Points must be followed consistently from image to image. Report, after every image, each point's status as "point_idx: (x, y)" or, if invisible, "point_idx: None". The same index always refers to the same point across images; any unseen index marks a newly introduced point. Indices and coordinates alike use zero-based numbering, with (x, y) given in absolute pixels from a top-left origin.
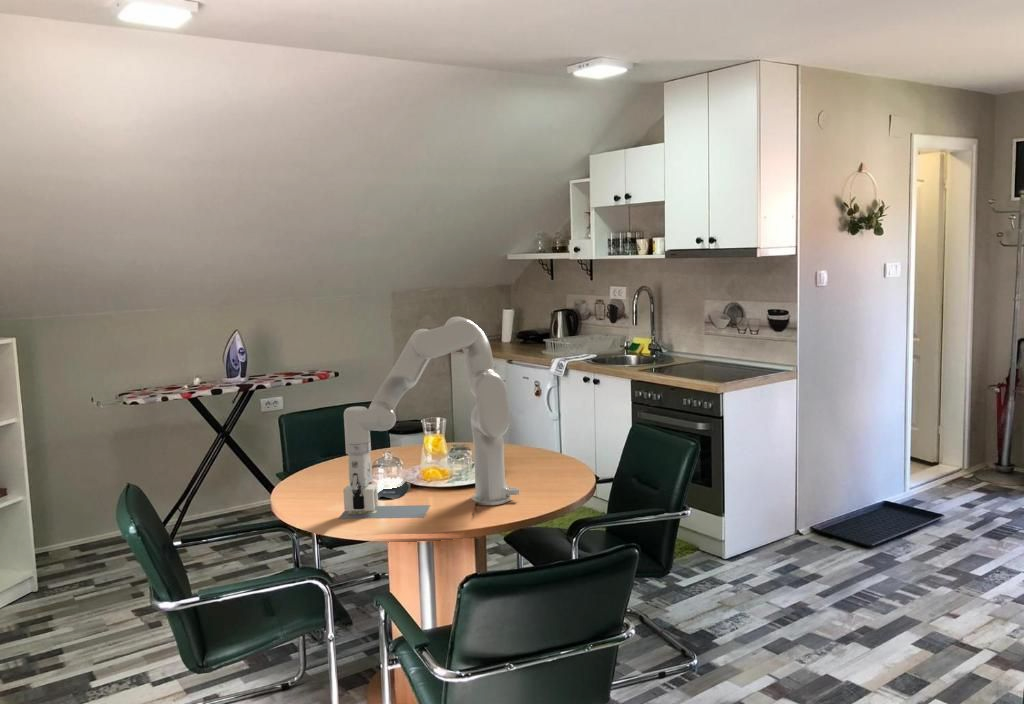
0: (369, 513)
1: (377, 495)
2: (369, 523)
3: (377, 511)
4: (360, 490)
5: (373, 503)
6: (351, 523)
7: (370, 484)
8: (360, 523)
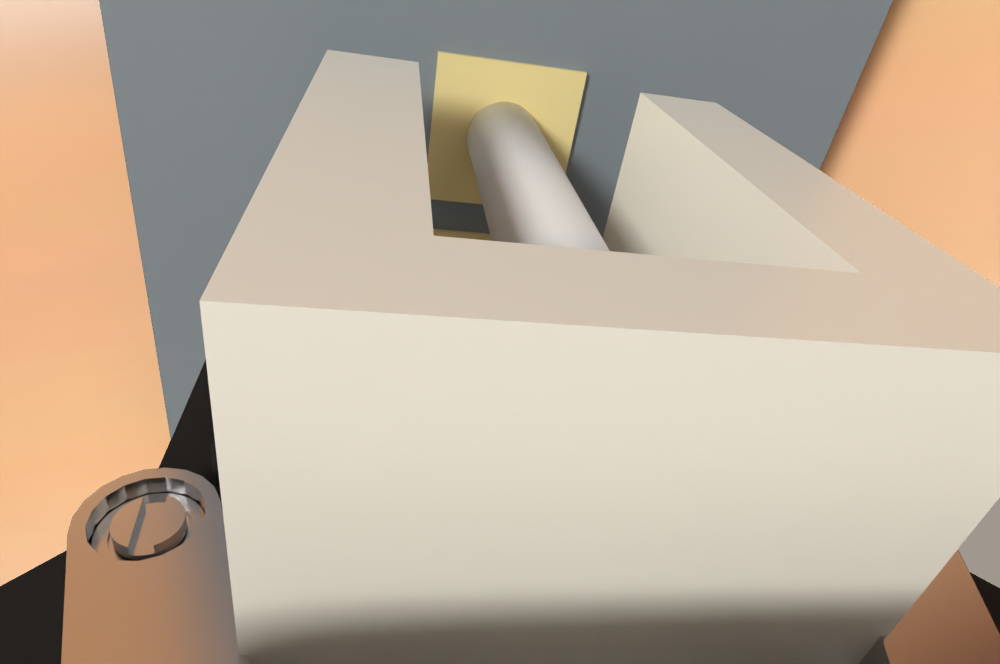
0: (572, 173)
1: (318, 112)
2: (849, 117)
3: (484, 35)
4: (984, 655)
5: (782, 147)
6: None
7: (266, 559)
8: None
